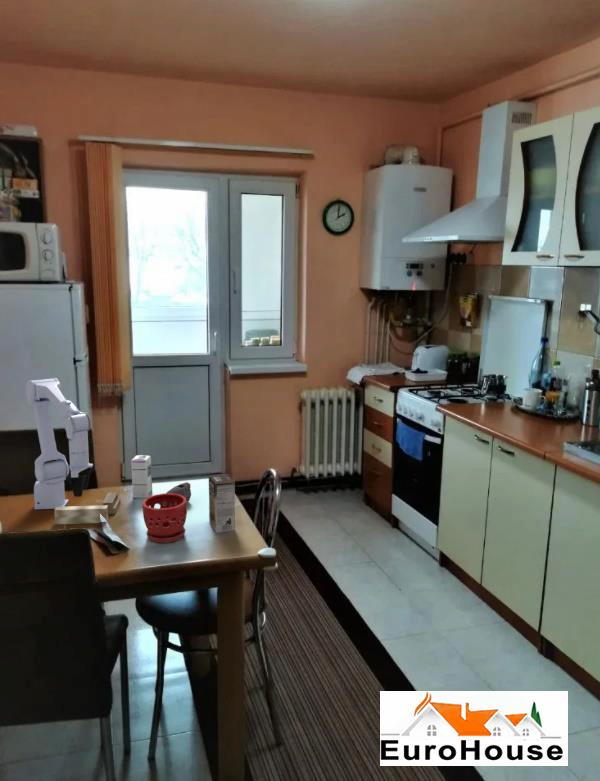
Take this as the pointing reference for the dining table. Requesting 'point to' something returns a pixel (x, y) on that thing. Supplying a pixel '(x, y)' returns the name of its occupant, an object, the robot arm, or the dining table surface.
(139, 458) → the syrup box
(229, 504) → the coffee box
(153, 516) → the plant pot
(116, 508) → the walnut ridge
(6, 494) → the dining table surface
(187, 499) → the perforated stone tool
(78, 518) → the metal bar
